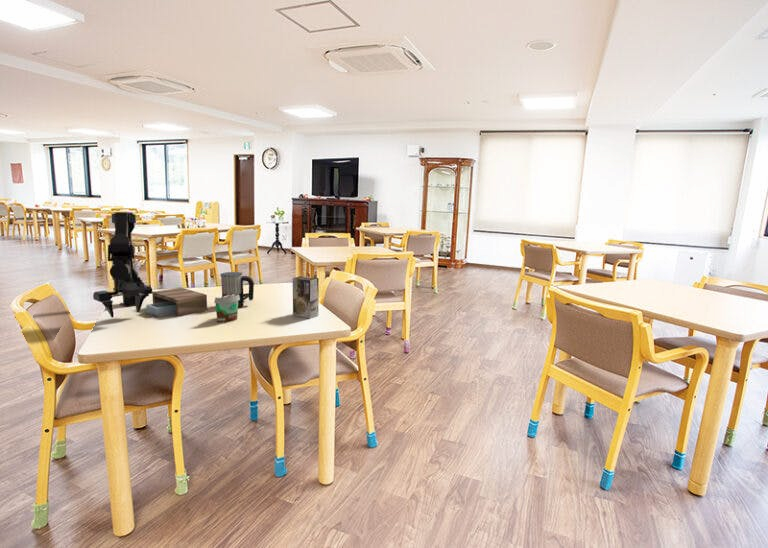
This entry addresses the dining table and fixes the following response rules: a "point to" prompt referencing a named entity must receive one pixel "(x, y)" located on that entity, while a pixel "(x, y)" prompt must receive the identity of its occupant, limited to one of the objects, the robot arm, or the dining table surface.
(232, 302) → the food container
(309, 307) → the coffee box
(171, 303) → the blue-gray rectangular tray
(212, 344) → the dining table surface
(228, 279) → the milk frother
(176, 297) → the walnut overhang
